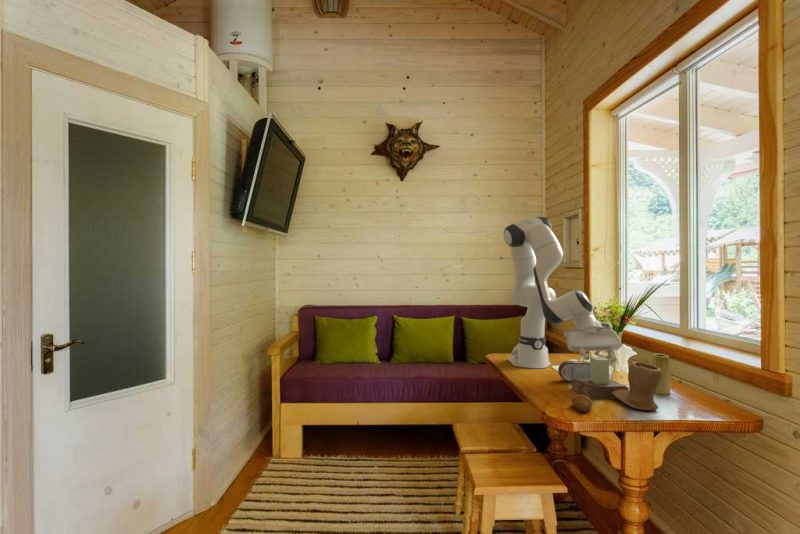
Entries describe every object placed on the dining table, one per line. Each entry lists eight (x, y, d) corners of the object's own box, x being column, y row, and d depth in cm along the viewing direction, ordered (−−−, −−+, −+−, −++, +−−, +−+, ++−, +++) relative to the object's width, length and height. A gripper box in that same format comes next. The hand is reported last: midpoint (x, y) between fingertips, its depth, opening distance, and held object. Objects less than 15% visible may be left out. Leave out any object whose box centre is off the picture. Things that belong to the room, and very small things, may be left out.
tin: (594, 381, 181) (595, 360, 181) (597, 383, 178) (597, 362, 178) (557, 380, 182) (557, 360, 182) (559, 382, 179) (559, 361, 179)
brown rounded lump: (570, 401, 154) (570, 387, 154) (591, 403, 152) (591, 389, 152) (571, 413, 142) (571, 398, 142) (594, 416, 139) (594, 400, 139)
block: (590, 380, 166) (590, 357, 166) (603, 380, 166) (603, 357, 166) (595, 383, 161) (595, 359, 161) (609, 383, 161) (609, 359, 161)
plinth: (572, 388, 170) (572, 378, 170) (604, 386, 172) (604, 376, 172) (593, 399, 156) (593, 388, 156) (628, 397, 158) (628, 386, 158)
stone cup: (669, 413, 141) (669, 367, 141) (632, 412, 142) (632, 367, 141) (644, 399, 156) (644, 357, 156) (611, 398, 157) (611, 357, 157)
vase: (657, 389, 168) (658, 352, 168) (673, 393, 162) (673, 355, 162) (647, 391, 165) (648, 354, 165) (663, 395, 160) (663, 357, 160)
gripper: (564, 325, 174) (574, 354, 164) (615, 324, 174) (628, 353, 164) (560, 334, 178) (570, 363, 169) (610, 333, 178) (622, 362, 168)
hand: (599, 358), depth 166 cm, fingers open, 8 cm apart
